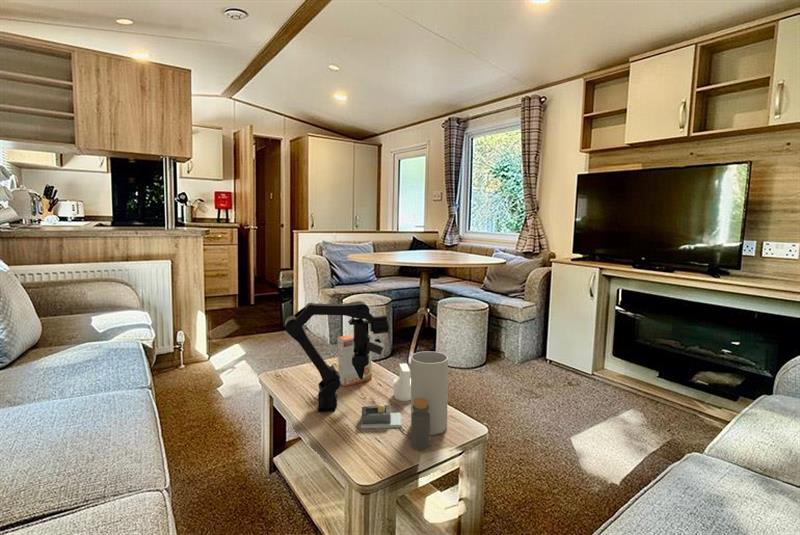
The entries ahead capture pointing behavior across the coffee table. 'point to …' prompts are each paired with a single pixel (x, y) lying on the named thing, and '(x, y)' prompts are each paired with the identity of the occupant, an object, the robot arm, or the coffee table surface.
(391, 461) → the coffee table surface
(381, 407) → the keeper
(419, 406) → the bottle
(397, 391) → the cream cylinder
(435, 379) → the cylinder vase
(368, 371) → the cracker box
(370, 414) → the link
